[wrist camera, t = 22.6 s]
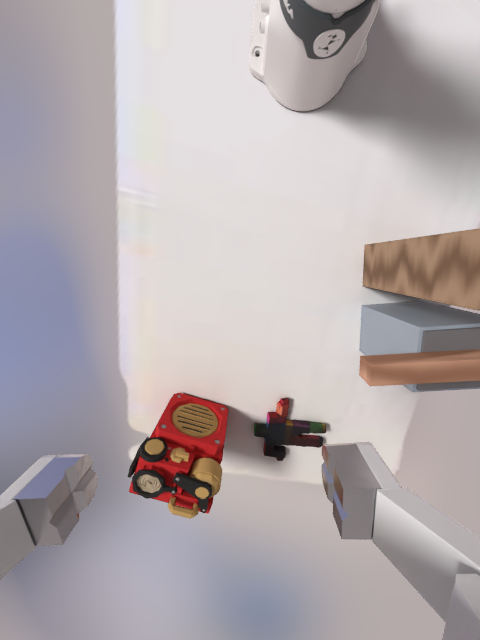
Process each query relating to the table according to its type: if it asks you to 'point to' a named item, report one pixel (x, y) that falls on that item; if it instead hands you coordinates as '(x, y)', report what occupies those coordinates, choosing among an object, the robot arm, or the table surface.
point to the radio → (182, 456)
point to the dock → (419, 334)
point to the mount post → (428, 267)
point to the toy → (287, 432)
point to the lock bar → (421, 367)
